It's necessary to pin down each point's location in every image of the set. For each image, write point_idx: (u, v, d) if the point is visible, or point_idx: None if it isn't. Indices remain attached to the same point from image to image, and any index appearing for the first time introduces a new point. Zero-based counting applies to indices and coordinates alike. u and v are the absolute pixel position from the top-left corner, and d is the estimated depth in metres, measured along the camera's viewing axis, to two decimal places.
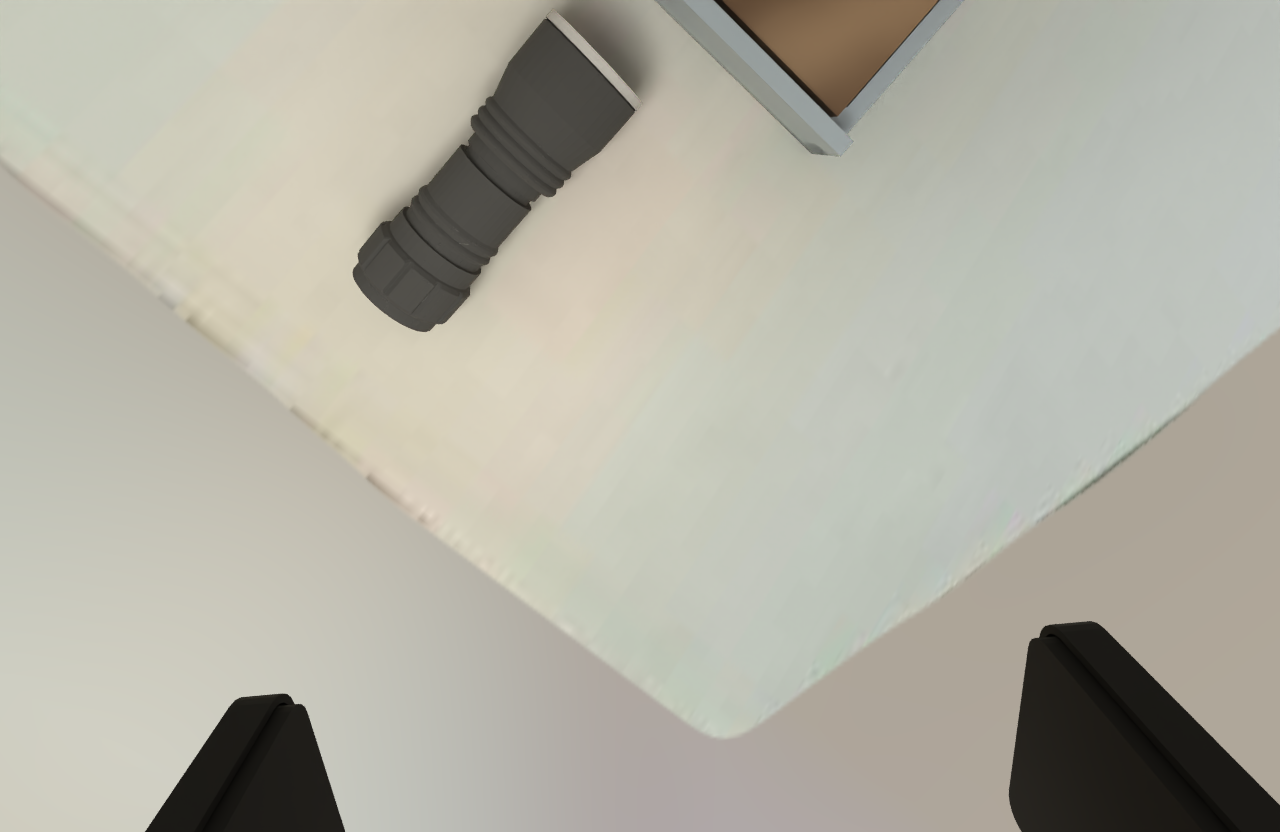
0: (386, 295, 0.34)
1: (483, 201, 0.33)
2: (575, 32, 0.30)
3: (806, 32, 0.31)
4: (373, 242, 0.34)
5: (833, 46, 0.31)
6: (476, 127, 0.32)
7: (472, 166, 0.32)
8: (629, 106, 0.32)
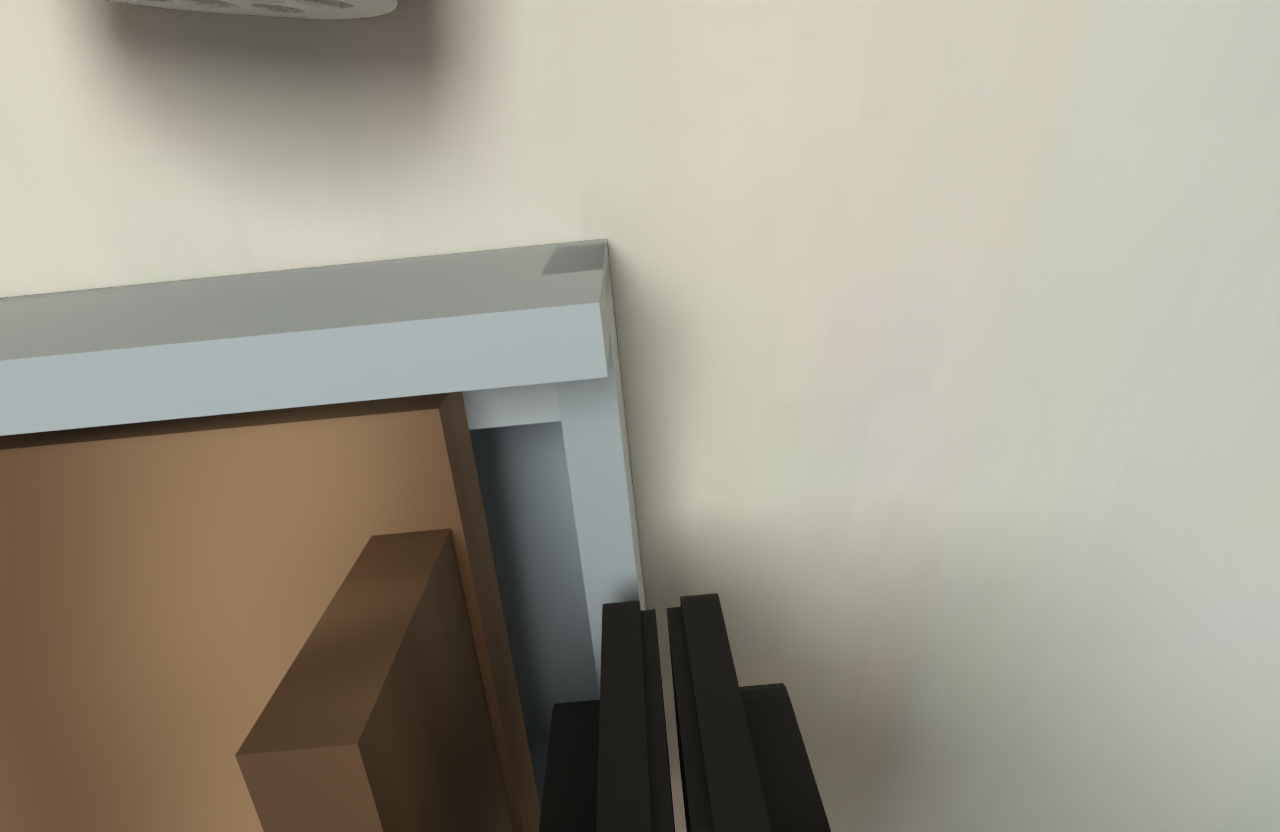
0: None
1: None
2: None
3: None
4: None
5: None
6: None
7: None
8: None
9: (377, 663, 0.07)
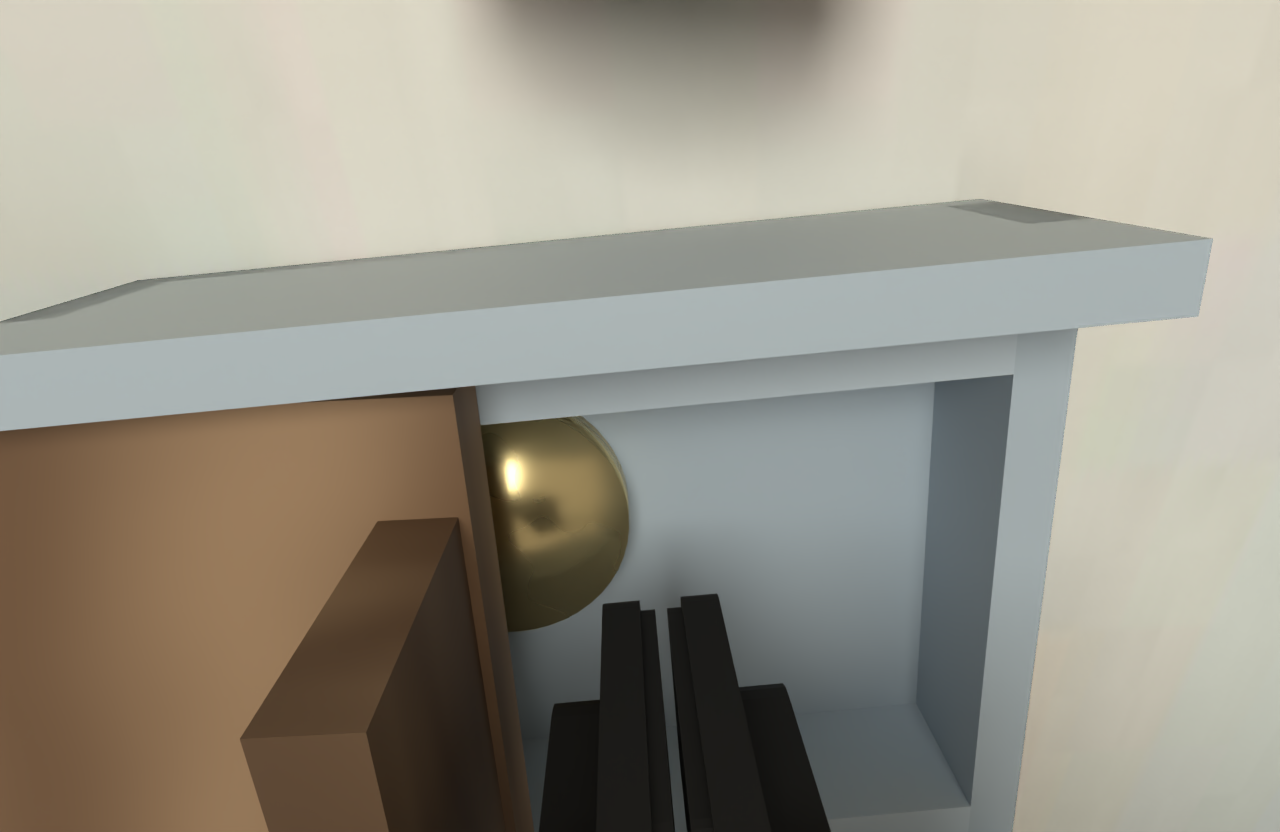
0: None
1: None
2: None
3: None
4: None
5: None
6: None
7: None
8: None
9: (385, 650, 0.07)
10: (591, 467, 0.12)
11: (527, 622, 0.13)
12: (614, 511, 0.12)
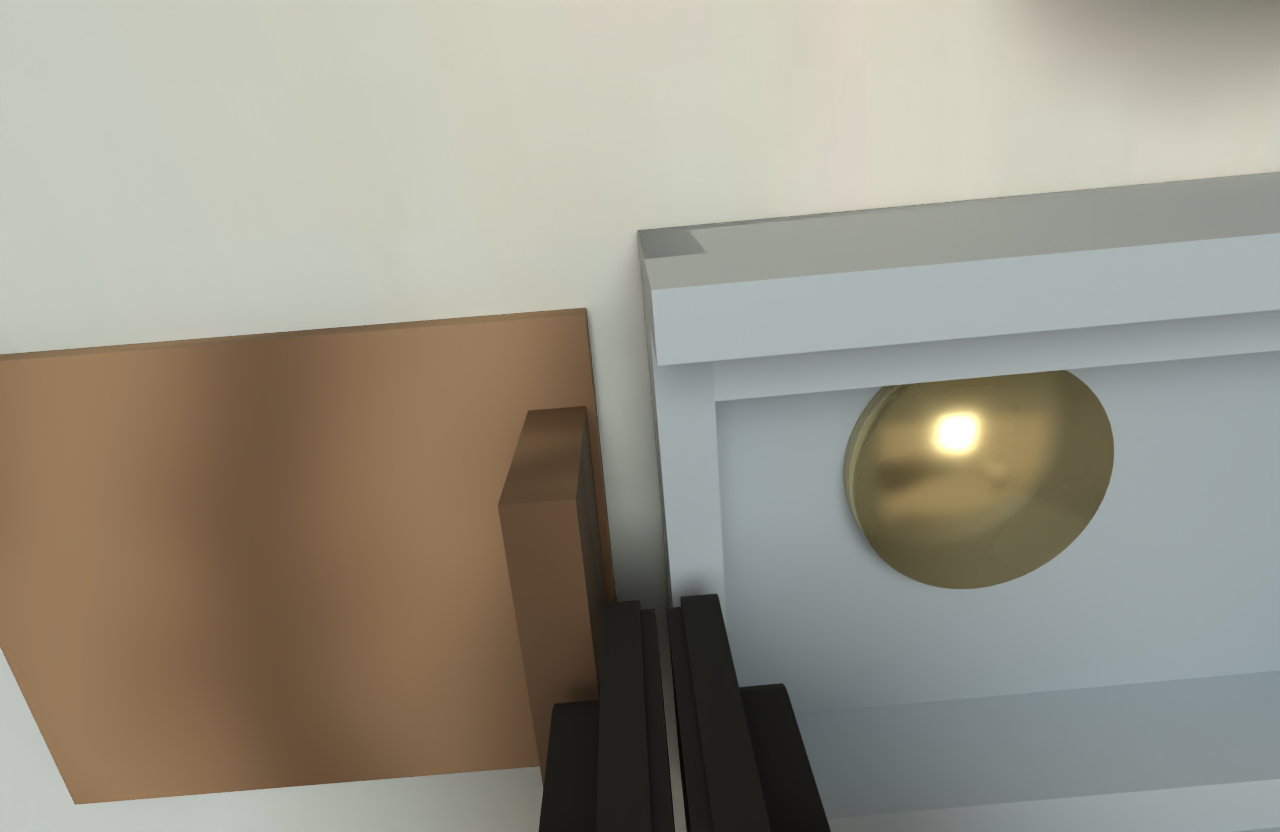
0: None
1: None
2: None
3: (105, 436, 0.12)
4: None
5: (40, 461, 0.13)
6: None
7: None
8: None
9: (568, 467, 0.10)
10: (1088, 420, 0.12)
11: (984, 579, 0.13)
12: (1099, 466, 0.12)
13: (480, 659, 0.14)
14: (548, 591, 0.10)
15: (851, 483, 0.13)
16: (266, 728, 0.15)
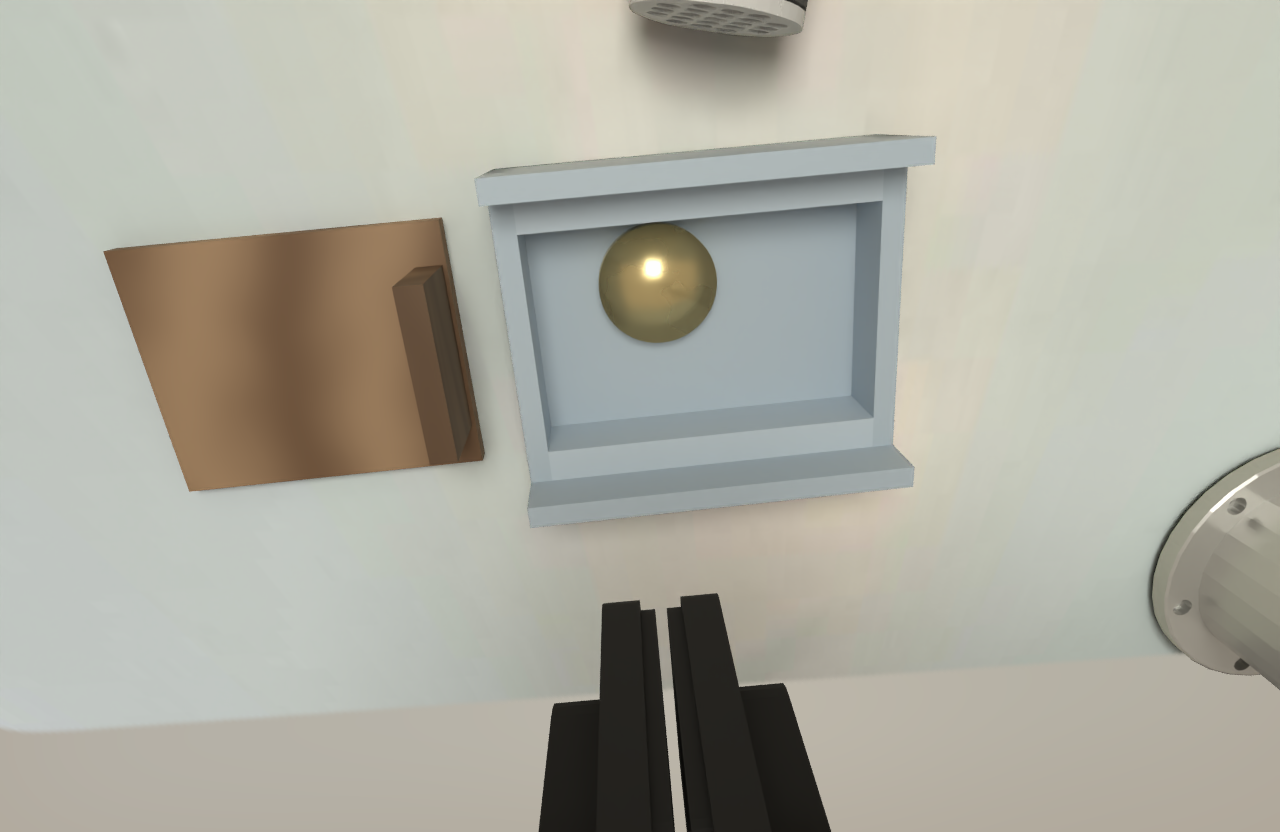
0: None
1: None
2: (769, 10, 0.21)
3: (213, 282, 0.26)
4: None
5: (181, 296, 0.26)
6: None
7: None
8: None
9: (424, 278, 0.24)
10: (701, 256, 0.27)
11: (666, 337, 0.28)
12: (710, 278, 0.27)
13: (399, 402, 0.29)
14: (415, 325, 0.24)
15: None
16: (290, 444, 0.29)
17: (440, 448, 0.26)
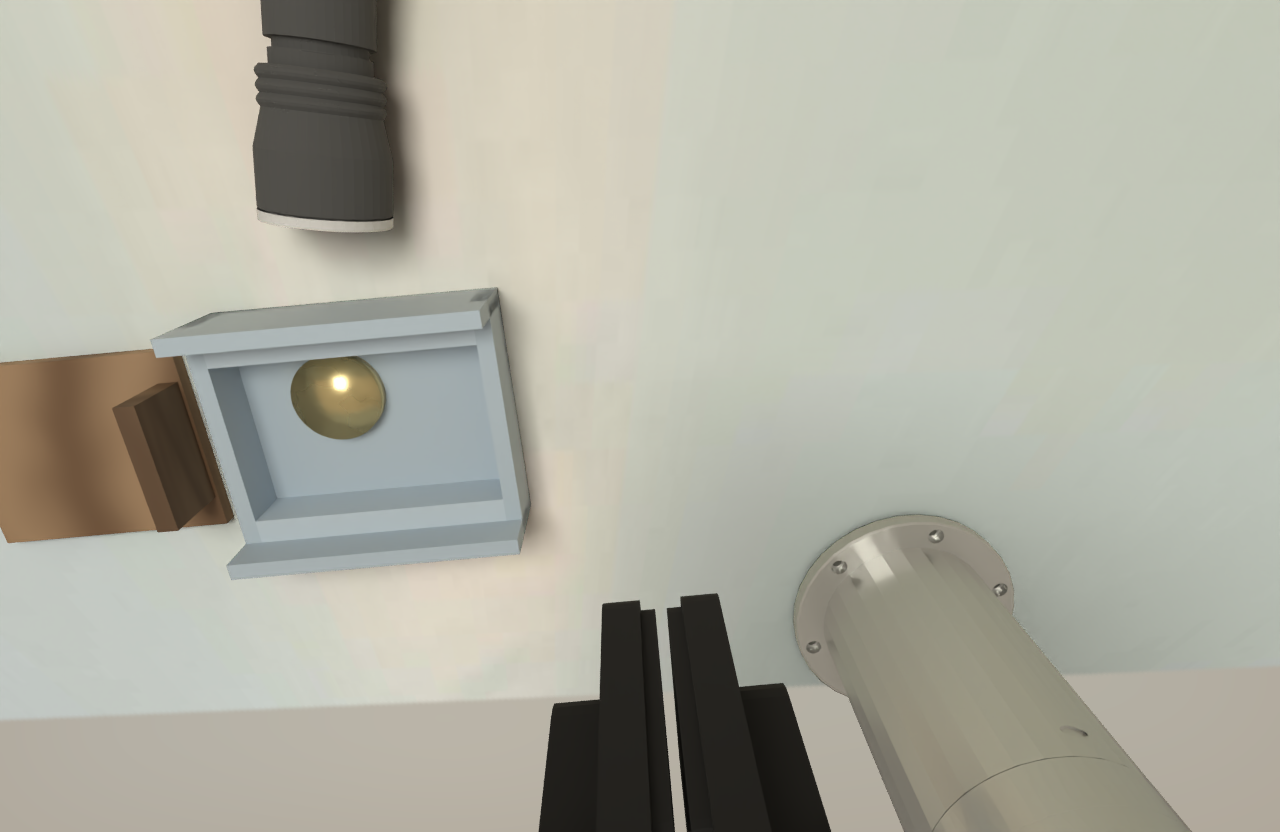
0: None
1: (289, 10, 0.27)
2: (333, 230, 0.29)
3: (10, 393, 0.36)
4: None
5: None
6: (355, 79, 0.28)
7: (328, 38, 0.28)
8: (257, 206, 0.30)
9: (144, 399, 0.34)
10: (365, 377, 0.36)
11: (349, 436, 0.37)
12: (375, 393, 0.36)
13: None
14: (132, 434, 0.33)
15: (294, 400, 0.36)
16: (80, 509, 0.38)
17: (163, 520, 0.35)
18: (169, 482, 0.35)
